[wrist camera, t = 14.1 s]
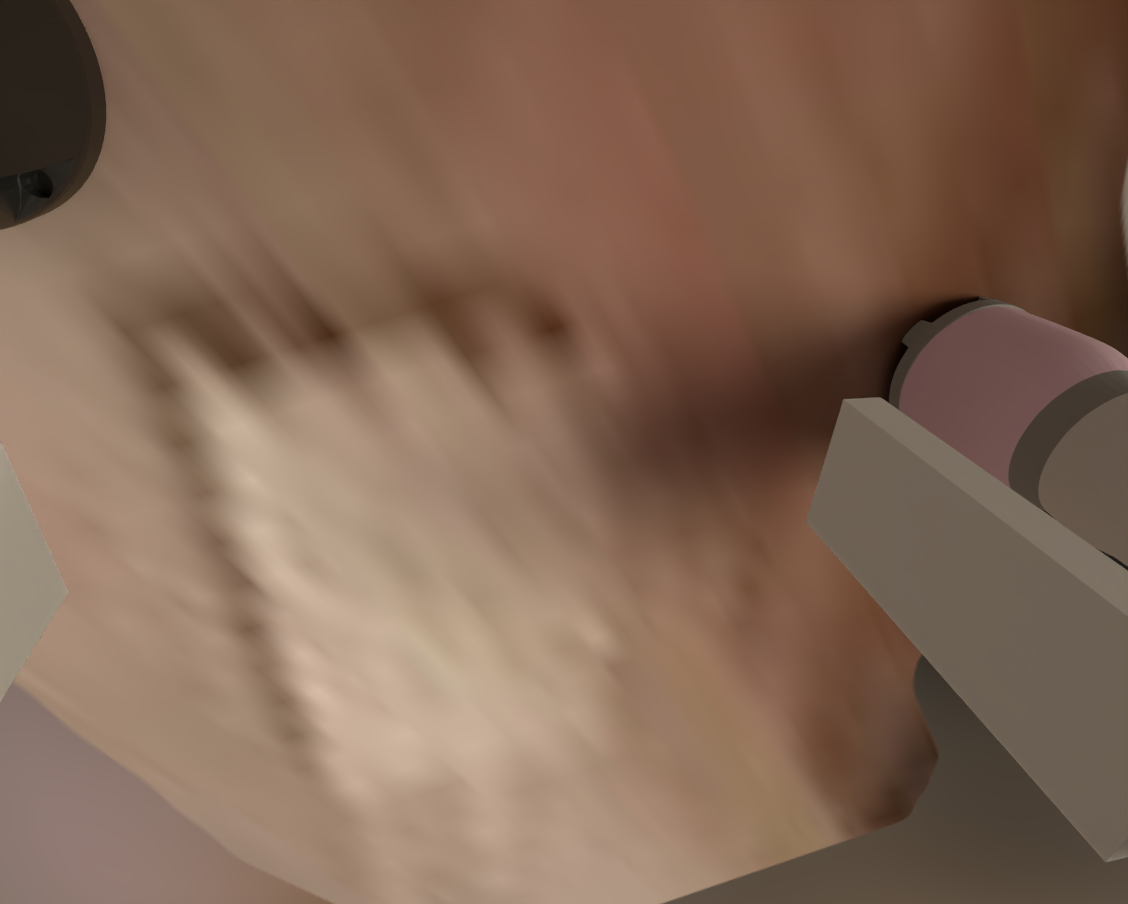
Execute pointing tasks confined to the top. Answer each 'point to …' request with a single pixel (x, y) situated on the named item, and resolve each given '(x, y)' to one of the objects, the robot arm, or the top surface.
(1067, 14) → the top surface
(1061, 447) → the blender
